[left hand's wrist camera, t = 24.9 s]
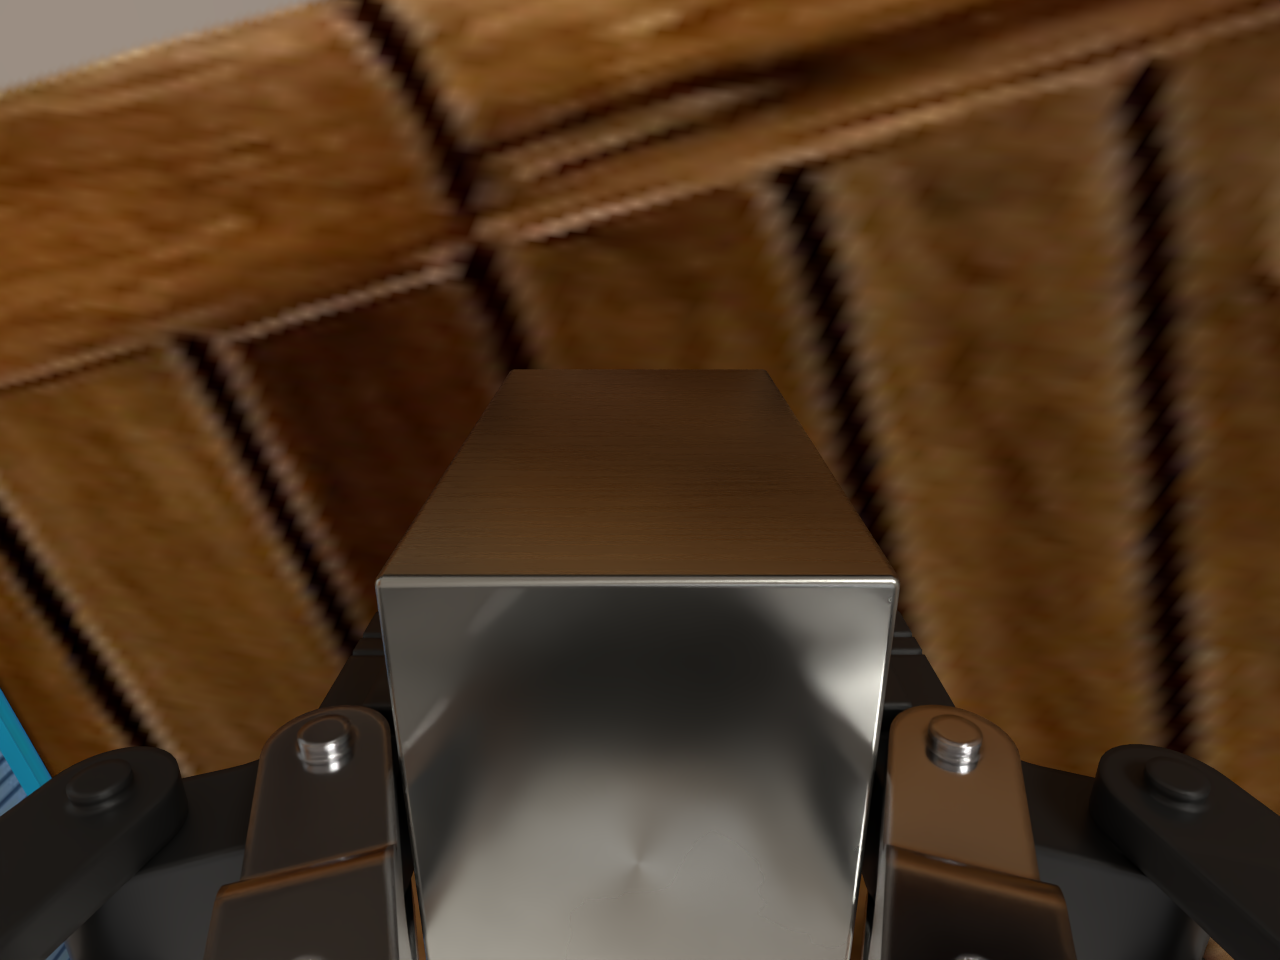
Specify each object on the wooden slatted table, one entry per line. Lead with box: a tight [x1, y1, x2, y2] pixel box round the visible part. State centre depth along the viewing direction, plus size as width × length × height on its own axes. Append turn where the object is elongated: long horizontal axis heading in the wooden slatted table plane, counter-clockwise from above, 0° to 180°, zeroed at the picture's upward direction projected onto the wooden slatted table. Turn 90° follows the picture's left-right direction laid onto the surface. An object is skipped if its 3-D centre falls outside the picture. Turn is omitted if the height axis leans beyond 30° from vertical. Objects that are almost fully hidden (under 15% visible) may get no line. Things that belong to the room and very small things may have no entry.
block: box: [375, 370, 900, 960], centre depth 12 cm, size 5×6×8 cm
